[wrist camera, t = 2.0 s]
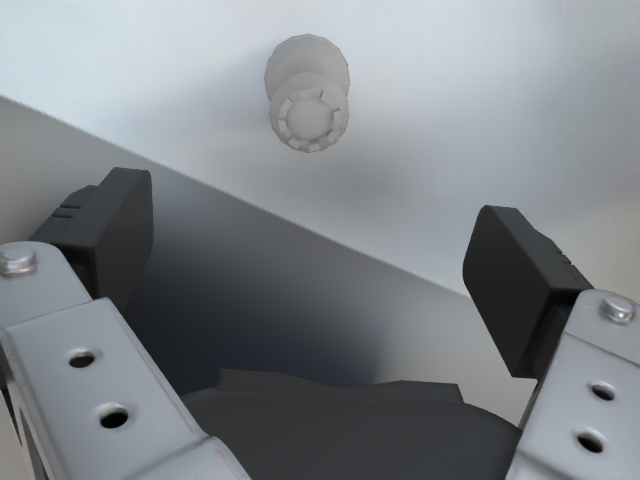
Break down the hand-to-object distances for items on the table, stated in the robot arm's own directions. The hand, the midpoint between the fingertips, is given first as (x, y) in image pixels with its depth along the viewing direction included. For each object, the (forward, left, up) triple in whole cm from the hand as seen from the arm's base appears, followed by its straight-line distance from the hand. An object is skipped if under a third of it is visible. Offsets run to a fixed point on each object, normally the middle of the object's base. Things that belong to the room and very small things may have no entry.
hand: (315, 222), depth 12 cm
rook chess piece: (0, 0, -17) cm, 17 cm away
